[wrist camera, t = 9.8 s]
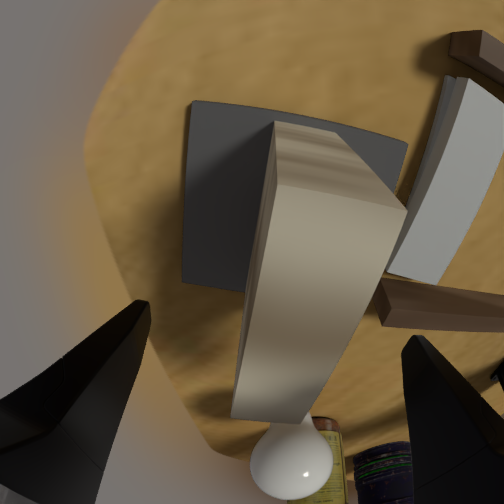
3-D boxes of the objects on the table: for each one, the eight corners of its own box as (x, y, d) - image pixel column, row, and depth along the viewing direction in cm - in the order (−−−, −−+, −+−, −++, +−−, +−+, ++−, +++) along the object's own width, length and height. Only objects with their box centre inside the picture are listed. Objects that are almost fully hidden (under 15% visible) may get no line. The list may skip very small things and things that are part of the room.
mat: (347, 300, 20) (349, 306, 20) (184, 276, 20) (182, 282, 19) (404, 141, 14) (408, 144, 14) (194, 100, 14) (192, 101, 13)
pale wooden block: (293, 292, 19) (299, 424, 12) (246, 285, 19) (230, 417, 12) (335, 132, 14) (407, 211, 6) (274, 120, 14) (277, 184, 6)
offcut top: (429, 274, 18) (435, 285, 17) (381, 260, 18) (386, 272, 17) (503, 109, 12) (515, 113, 11) (457, 76, 11) (468, 78, 10)
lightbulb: (274, 405, 28) (270, 507, 19) (242, 374, 25) (229, 494, 16) (335, 390, 26) (344, 498, 17) (311, 354, 23) (319, 486, 14)
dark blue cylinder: (340, 458, 37) (345, 544, 25) (399, 436, 33) (413, 529, 21) (369, 466, 41) (375, 539, 28) (420, 446, 37) (432, 524, 24)
